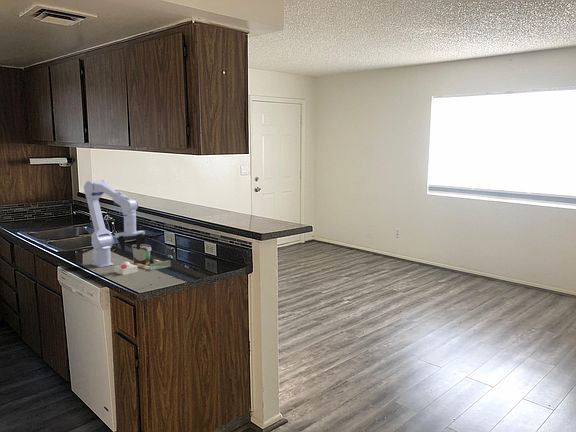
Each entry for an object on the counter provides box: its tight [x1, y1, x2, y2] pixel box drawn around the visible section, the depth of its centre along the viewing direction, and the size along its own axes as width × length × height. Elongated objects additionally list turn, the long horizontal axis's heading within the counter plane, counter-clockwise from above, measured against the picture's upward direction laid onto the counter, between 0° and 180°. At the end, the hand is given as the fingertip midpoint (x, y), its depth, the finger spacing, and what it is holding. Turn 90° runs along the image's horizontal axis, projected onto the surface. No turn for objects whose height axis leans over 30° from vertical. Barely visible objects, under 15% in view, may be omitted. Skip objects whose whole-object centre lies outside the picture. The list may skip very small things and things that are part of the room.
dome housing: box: [113, 263, 139, 276], centre depth 238 cm, size 8×8×5 cm
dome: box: [120, 260, 132, 268], centre depth 238 cm, size 5×5×5 cm
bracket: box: [134, 259, 172, 271], centre depth 251 cm, size 14×12×3 cm
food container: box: [131, 243, 152, 266], centre depth 255 cm, size 12×6×10 cm, turn 57°
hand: (130, 250), depth 240 cm, fingers open, 7 cm apart
